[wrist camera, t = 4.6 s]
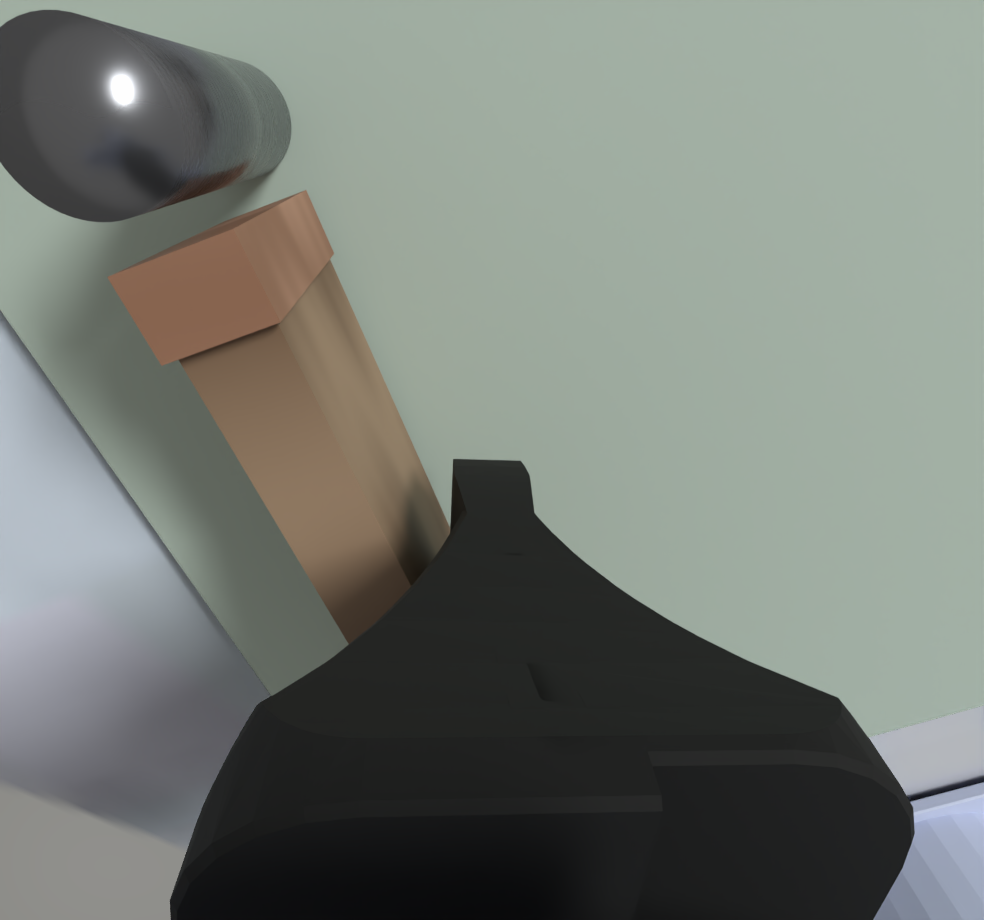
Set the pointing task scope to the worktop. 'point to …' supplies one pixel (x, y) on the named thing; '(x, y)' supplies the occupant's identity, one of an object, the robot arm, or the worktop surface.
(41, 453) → the worktop surface
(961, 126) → the gate mat
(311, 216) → the wooden block
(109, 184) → the dark gray metal cylinder
